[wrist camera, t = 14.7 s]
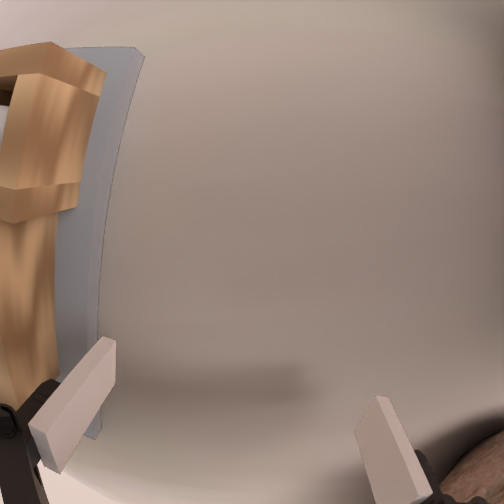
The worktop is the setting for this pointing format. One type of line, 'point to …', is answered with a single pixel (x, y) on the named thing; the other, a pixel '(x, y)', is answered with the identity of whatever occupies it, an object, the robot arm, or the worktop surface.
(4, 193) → the link
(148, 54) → the worktop surface
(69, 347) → the pintle base
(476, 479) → the cooking pot
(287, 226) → the worktop surface
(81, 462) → the worktop surface
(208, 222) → the worktop surface
